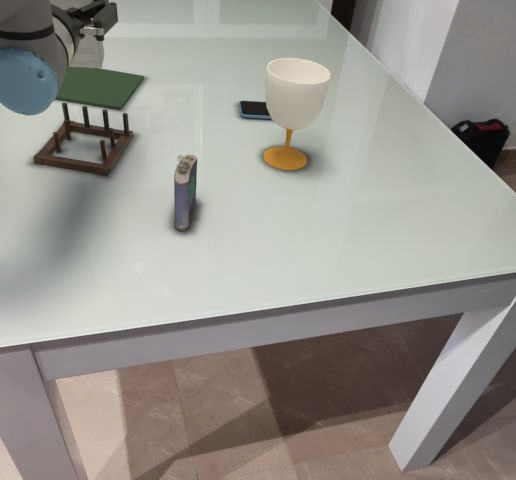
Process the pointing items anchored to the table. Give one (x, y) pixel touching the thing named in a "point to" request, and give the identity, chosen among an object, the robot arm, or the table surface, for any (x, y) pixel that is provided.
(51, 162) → the rack
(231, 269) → the table surface
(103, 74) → the mat
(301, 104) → the cup
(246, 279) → the table surface
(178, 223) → the flask
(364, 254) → the table surface
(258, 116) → the smartphone
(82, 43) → the cosmetic box
